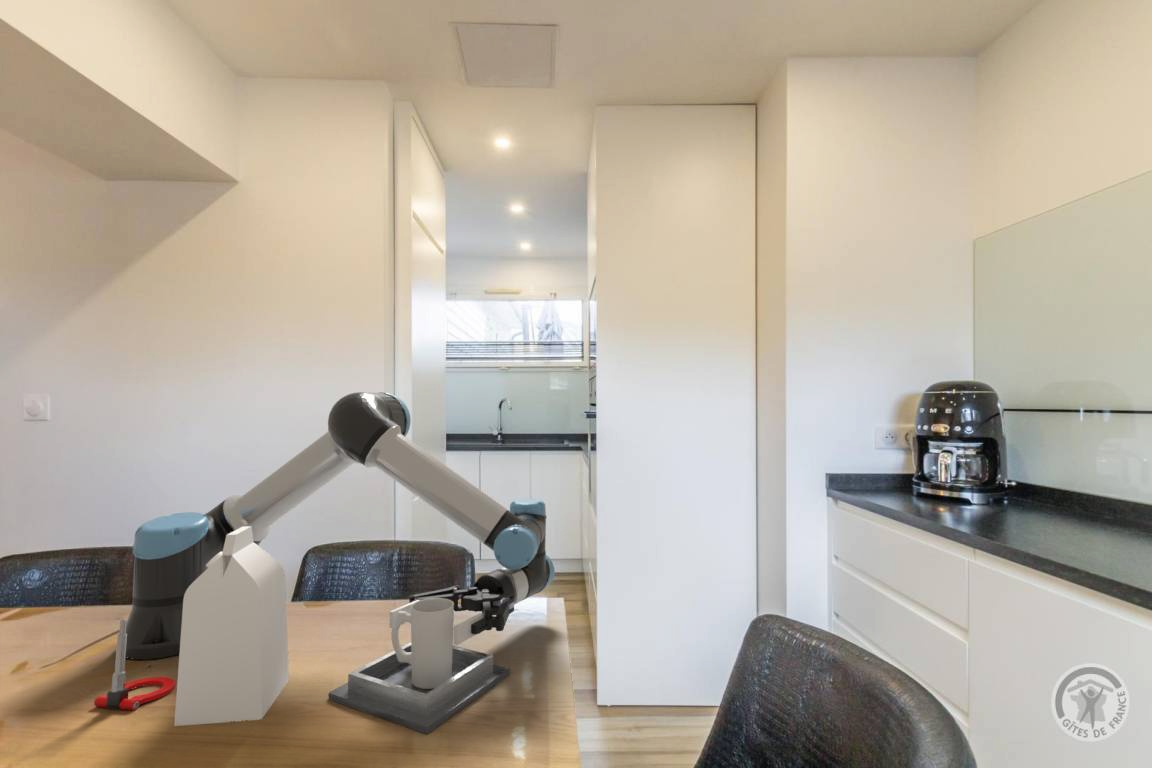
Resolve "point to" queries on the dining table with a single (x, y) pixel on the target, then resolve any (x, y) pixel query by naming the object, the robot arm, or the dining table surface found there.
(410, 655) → the mug
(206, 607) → the milk
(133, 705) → the tow hook
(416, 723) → the grey shallow square tray
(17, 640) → the dining table surface
